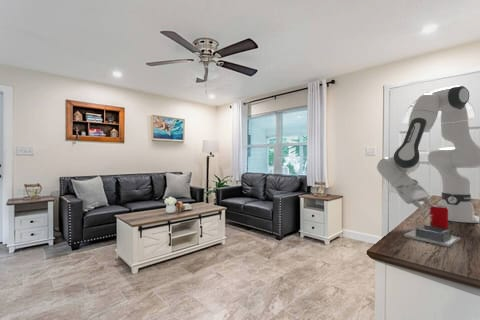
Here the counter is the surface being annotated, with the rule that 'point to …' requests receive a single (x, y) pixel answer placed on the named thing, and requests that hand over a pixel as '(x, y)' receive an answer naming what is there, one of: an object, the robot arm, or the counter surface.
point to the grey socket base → (433, 235)
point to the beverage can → (439, 216)
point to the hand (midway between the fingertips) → (427, 208)
